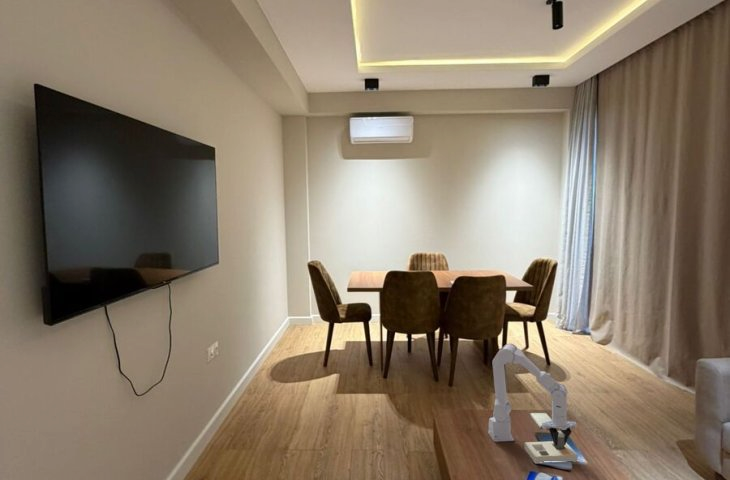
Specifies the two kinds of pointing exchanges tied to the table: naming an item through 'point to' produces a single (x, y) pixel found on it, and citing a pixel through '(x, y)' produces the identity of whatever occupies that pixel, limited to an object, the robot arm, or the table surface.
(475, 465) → the table surface
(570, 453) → the socket block
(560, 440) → the plug
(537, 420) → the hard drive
